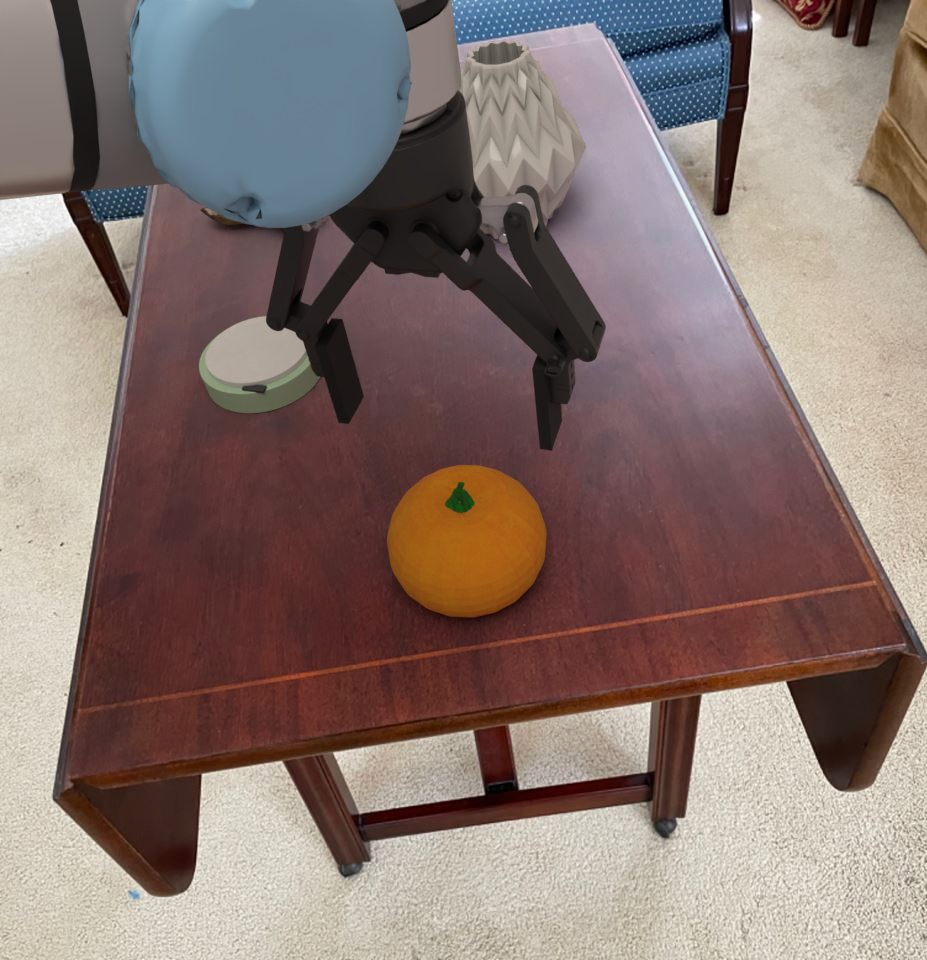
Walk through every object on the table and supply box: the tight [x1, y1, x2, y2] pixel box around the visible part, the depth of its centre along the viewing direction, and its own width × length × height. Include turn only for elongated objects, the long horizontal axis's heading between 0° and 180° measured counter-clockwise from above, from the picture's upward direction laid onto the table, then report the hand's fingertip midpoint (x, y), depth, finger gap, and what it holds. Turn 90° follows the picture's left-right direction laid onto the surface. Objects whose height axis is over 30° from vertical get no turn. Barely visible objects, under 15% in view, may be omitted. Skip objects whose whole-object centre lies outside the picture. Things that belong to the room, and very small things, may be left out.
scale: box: [198, 315, 321, 414], centre depth 90 cm, size 12×12×3 cm
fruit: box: [386, 464, 548, 619], centre depth 68 cm, size 12×12×10 cm
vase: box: [458, 38, 587, 240], centre depth 98 cm, size 16×16×18 cm
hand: (448, 422), depth 60 cm, fingers open, 13 cm apart
